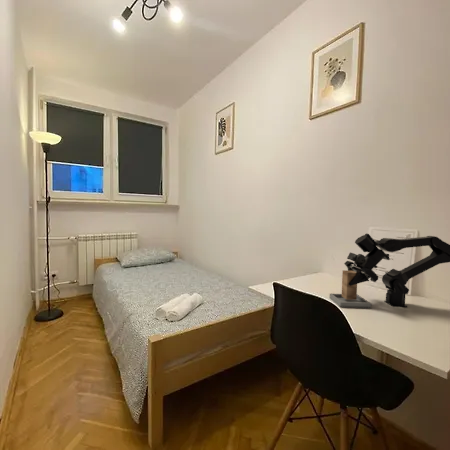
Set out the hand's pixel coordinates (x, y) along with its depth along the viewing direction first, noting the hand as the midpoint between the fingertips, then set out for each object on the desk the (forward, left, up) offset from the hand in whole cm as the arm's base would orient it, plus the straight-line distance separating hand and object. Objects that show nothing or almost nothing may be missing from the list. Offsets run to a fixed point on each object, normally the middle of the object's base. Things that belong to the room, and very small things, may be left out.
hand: (346, 283), depth 114 cm
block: (-1, 0, -7) cm, 7 cm away
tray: (-1, 0, -9) cm, 9 cm away
